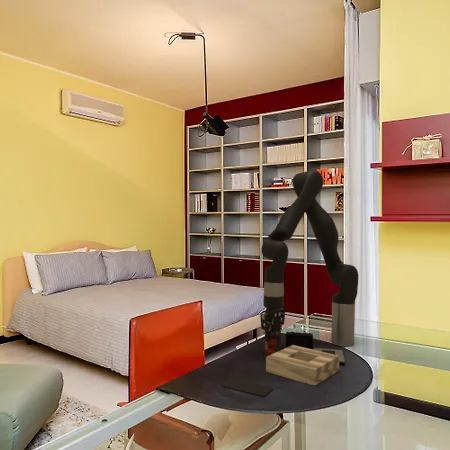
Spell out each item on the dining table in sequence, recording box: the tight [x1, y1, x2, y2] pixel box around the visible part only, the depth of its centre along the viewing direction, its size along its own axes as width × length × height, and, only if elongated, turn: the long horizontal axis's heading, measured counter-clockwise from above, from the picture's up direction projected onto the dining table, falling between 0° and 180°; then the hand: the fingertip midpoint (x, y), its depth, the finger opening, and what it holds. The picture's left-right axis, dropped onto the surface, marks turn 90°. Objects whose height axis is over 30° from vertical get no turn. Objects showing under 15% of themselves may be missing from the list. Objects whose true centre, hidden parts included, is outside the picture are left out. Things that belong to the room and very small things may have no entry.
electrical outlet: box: [313, 347, 346, 364], centre depth 154 cm, size 13×10×2 cm
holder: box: [265, 345, 340, 387], centre depth 141 cm, size 18×18×5 cm
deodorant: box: [263, 316, 282, 358], centre depth 155 cm, size 6×6×15 cm
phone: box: [220, 377, 274, 398], centre depth 126 cm, size 7×1×15 cm
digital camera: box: [285, 331, 314, 350], centre depth 163 cm, size 10×5×7 cm, turn 81°
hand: (272, 338), depth 155 cm, fingers closed on deodorant, 6 cm apart
